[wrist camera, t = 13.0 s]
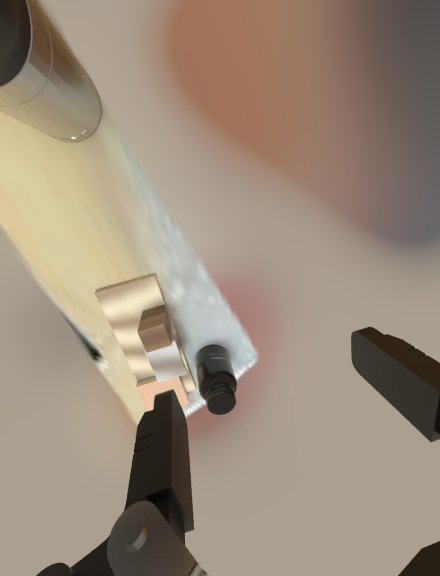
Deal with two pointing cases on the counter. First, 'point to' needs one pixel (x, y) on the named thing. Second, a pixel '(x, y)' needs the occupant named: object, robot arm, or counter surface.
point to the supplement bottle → (216, 379)
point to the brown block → (160, 344)
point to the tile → (161, 390)
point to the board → (136, 322)
